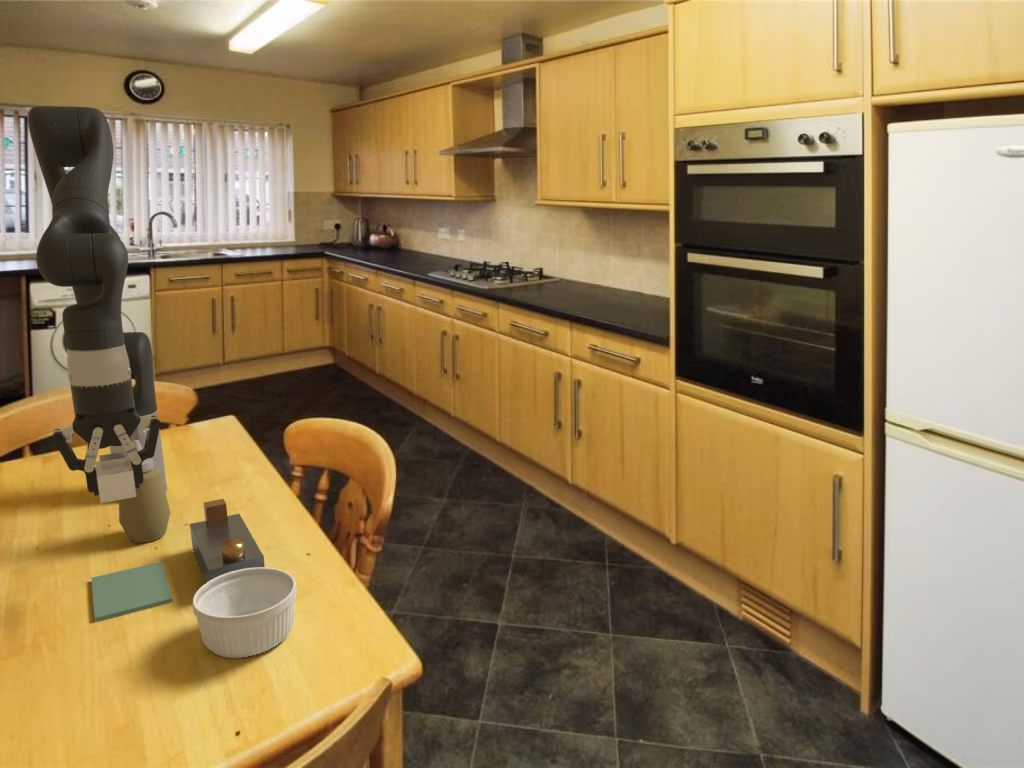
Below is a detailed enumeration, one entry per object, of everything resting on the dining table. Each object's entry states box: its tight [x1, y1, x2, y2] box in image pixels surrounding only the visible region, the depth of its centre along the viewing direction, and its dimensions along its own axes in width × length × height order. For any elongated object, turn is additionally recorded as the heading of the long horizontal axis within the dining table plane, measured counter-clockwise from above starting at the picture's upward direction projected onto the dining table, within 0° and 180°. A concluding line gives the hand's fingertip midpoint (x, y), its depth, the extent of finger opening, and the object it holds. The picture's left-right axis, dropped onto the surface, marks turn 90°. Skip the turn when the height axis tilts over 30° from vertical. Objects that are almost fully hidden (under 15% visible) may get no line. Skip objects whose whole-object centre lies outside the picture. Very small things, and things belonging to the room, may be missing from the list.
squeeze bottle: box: [118, 440, 171, 544], centre depth 122 cm, size 8×8×18 cm
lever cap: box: [94, 452, 136, 504], centre depth 102 cm, size 7×4×5 cm, turn 32°
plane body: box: [189, 498, 266, 584], centre depth 113 cm, size 18×8×9 cm, turn 32°
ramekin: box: [192, 566, 298, 659], centre depth 95 cm, size 13×13×7 cm
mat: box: [91, 560, 174, 623], centre depth 107 cm, size 13×10×1 cm
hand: (116, 489), depth 103 cm, fingers closed on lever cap, 4 cm apart
